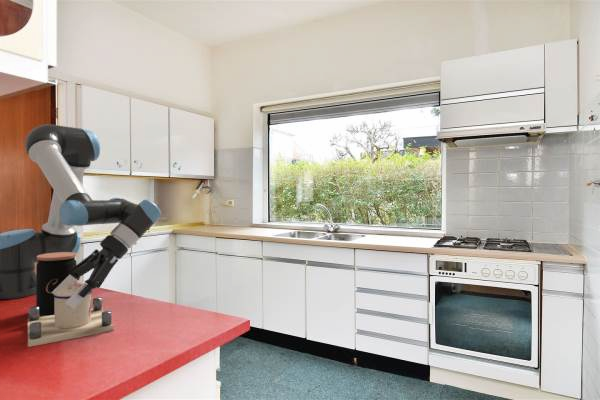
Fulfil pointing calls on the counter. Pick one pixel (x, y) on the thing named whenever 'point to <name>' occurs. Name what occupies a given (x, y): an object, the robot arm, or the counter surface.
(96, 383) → the counter surface
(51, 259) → the coffee jar
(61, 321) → the teacup with lid
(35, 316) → the set of grey pegs
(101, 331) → the birch board
